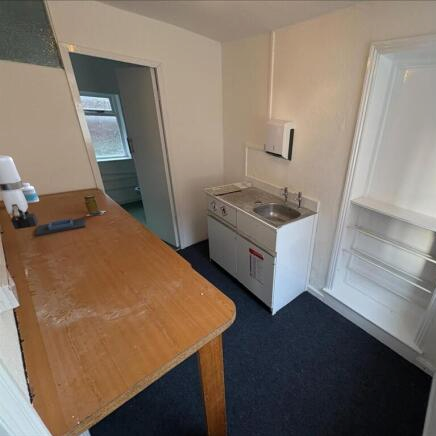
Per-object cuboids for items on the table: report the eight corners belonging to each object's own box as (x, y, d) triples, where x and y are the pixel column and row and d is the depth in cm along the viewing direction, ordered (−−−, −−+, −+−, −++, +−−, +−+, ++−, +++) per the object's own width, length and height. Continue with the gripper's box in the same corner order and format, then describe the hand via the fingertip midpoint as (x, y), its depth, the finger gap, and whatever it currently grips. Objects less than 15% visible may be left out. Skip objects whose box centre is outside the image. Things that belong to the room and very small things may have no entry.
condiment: (90, 212, 154) (85, 194, 149) (106, 211, 156) (101, 194, 151) (86, 216, 147) (79, 198, 142) (102, 215, 150) (96, 197, 145)
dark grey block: (15, 229, 101) (10, 220, 99) (17, 225, 104) (13, 216, 102) (36, 226, 104) (32, 216, 103) (37, 222, 108) (34, 213, 106)
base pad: (35, 236, 122) (33, 231, 120) (38, 227, 131) (36, 222, 130) (85, 227, 134) (83, 222, 132) (84, 219, 143) (83, 214, 142)
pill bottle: (25, 201, 165) (16, 183, 160) (39, 199, 170) (32, 181, 165) (24, 204, 160) (15, 185, 155) (39, 202, 165) (31, 184, 160)
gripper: (0, 182, 101) (17, 220, 108) (-10, 192, 89) (10, 234, 96) (26, 180, 105) (40, 217, 112) (19, 190, 93) (36, 230, 101)
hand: (26, 224), depth 104 cm, fingers closed on dark grey block, 5 cm apart
